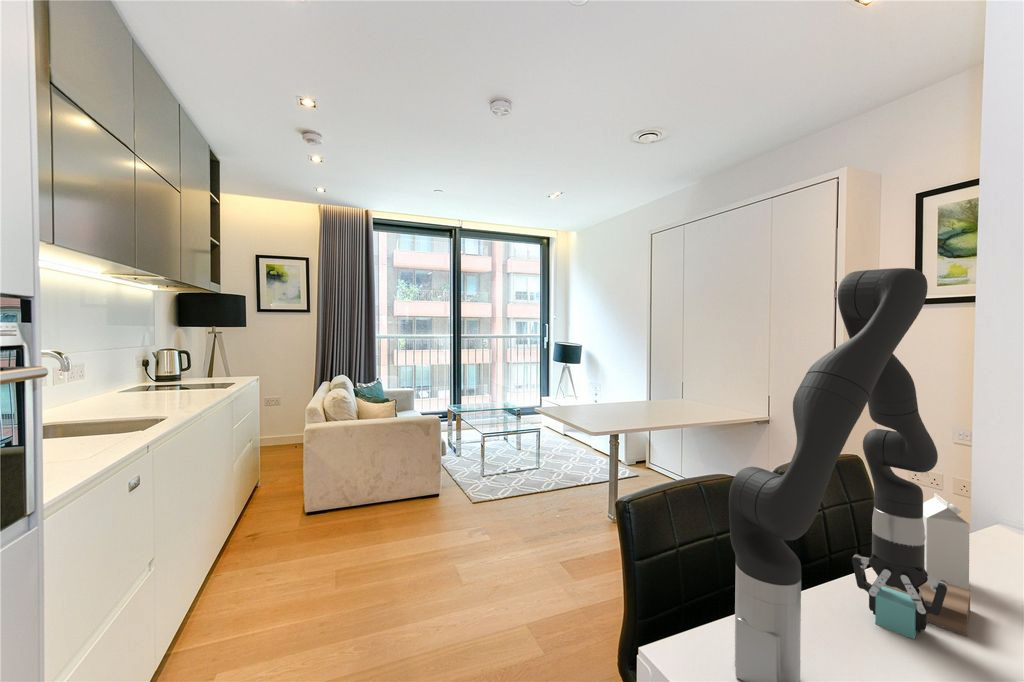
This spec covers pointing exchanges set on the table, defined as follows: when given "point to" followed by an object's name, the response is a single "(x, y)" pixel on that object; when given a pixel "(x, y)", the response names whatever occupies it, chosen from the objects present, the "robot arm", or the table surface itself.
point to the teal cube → (896, 612)
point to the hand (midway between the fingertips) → (896, 621)
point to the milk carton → (946, 543)
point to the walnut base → (948, 607)
